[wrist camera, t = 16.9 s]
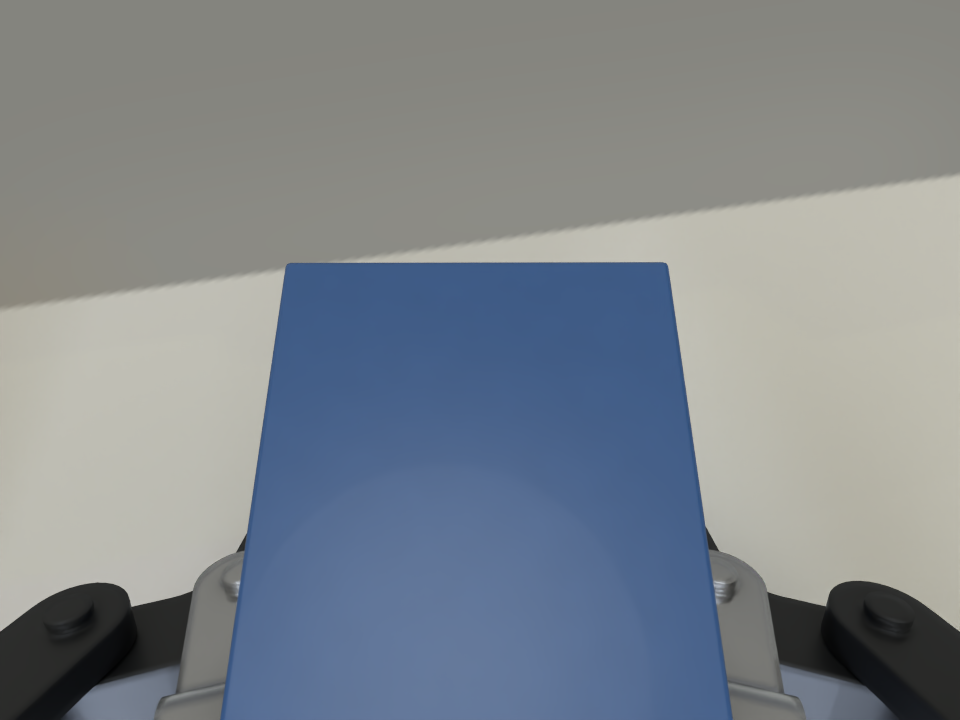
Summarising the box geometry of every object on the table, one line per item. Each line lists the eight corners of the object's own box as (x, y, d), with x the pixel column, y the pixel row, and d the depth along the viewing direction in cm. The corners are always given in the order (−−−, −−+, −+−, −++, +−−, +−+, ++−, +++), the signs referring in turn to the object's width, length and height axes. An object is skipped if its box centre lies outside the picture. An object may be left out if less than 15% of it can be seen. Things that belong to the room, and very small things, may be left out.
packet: (384, 729, 14) (185, 937, 5) (397, 472, 17) (284, 261, 7) (574, 729, 14) (766, 936, 5) (560, 472, 17) (668, 260, 7)
